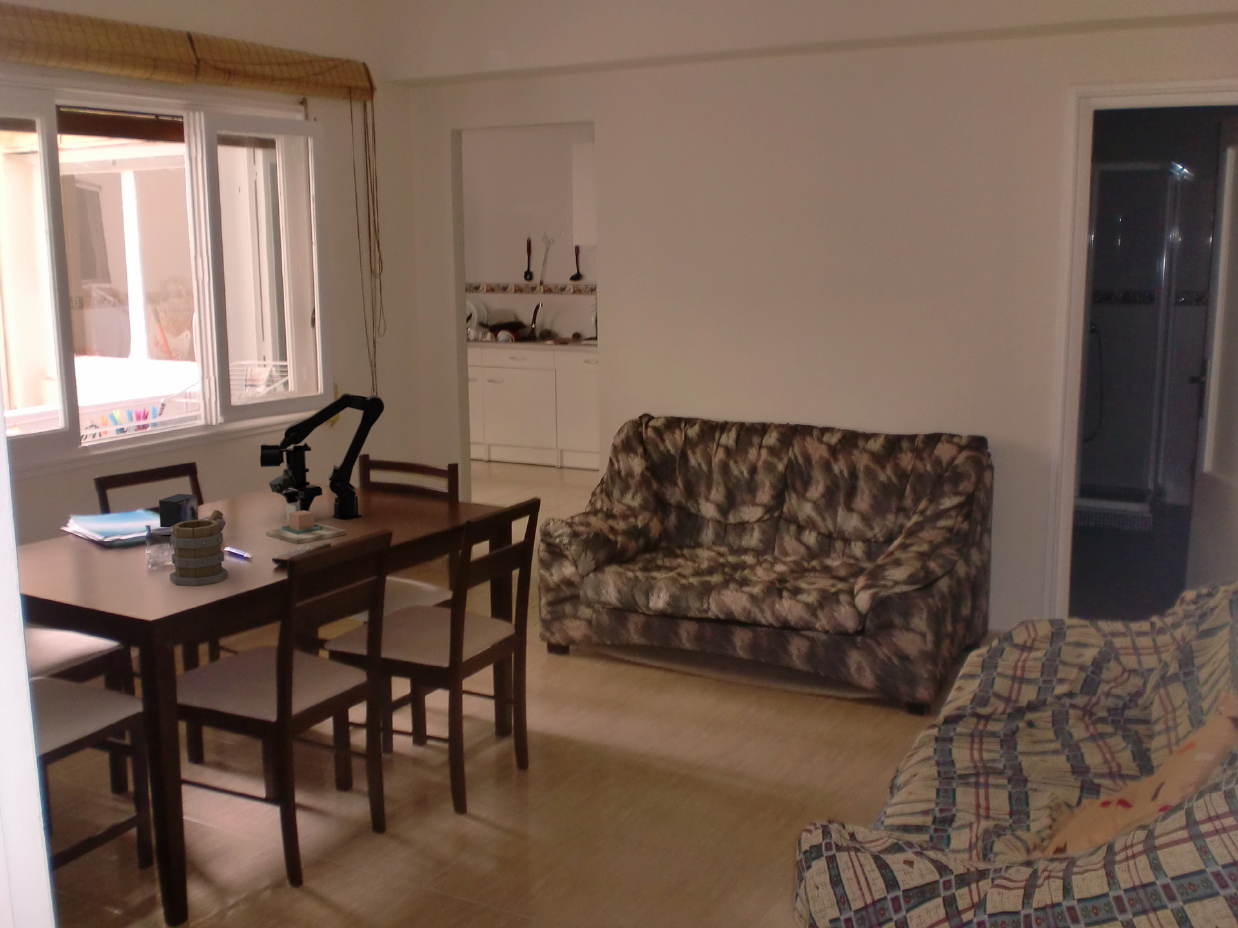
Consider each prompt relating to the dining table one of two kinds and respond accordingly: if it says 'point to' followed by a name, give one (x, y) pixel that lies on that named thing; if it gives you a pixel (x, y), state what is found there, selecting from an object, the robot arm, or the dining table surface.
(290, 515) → the terracotta block
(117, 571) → the dining table surface
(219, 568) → the tankard
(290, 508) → the cream block
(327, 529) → the base plate
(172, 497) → the small box
